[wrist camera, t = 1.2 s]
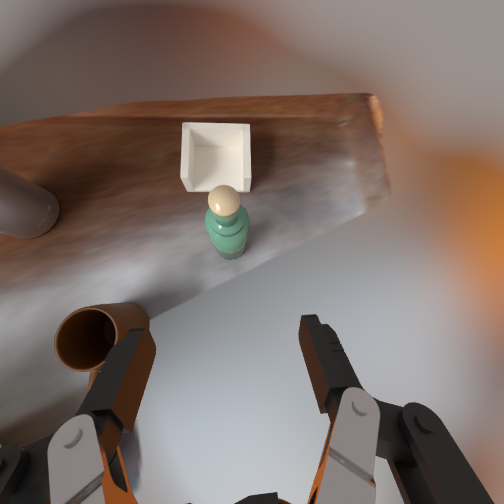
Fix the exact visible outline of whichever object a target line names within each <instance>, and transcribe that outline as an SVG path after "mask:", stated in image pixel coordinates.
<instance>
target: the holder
mask: <svg viewBox="0 0 504 504" xmlns="http://www.w3.org/2000/svg"><path fill="white" fill-rule="evenodd" d="M180 178H181V180H182V182H183V184H184V186H185V188H186V190H187V192H211V190H212V189H213V188H215V187H217V186H219V185H228V186H231V187H233V188H234V189H235V190H236V191H237V192H250V184H251V154H250V124H226V123H189V122H183V126H182V151H181V175H180Z"/></svg>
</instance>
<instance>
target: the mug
mask: <svg viewBox="0 0 504 504" xmlns="http://www.w3.org/2000/svg"><path fill="white" fill-rule="evenodd" d="M149 325H150V324H149V318H148V315H147V313H146V312H145V310H144V309H143V308H141V307H140V306H138V305H136V304H132V303H113V304H101V305H93V306H89V307H84V308H81V309H78V310H76V311H74V312H73V313H71V314H70V315H69V316H68V317H66V318H65V319H64V321H63V322H62V323H61V324H60V326H59V328H58V330H57V332H56V335H55V340H54V348H55V353H56V356H57V358H58V359H59V361H60V362H61V363H62V364H63V365H64V366H65V367H67V368H68V369H71V370H73V371H78V372H87V371H90V378H89V385H88V391H89V390H90V388H91V386H92V384H93V382H94V380H95V378H96V376H97V374H98V373H99V370H100V368H101V366H102V364H104V360H105V358H106V357H107V355H108V353H109V351H110V350H111V348H112V347H113V346H114V345H115V344H116V343H117V342H118V341H119V340H124V339H125V337H126V335H127V333H128V331H129V330H130V329H131V328H141V327H148V329H149Z"/></svg>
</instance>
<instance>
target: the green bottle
mask: <svg viewBox="0 0 504 504" xmlns="http://www.w3.org/2000/svg"><path fill="white" fill-rule="evenodd" d="M208 203H209V206H210V208H209V210H208V211H207V213H206V216H205V226H206V229H207V231H208V233H209V235H210V237H211V239H212V241H213V243H214V245H215V247H216V250H217V252H218V253H219V255H220V256H222V257H223V258H225V259H229V260H232V259H236V258H238V257H240V256H241V255H242V254H243V252H244V250H245V246H246V240H247V233H248V227H249V216H248V213H247V211H246V209H245V208H244V207H243V206H242V205H241V204H240V196H239V194H238V192H237V191H236V190H235V189H234V188H233V187H231V186H228V185H219V186H217V187H215V188H213V189H212V190H211V192H210V193H209V196H208Z"/></svg>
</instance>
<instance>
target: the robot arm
mask: <svg viewBox="0 0 504 504" xmlns="http://www.w3.org/2000/svg"><path fill="white" fill-rule="evenodd" d="M58 216H59V204H58V201H57V199H56V197H55V196H54V195H53V194H52V193H50V192H49V191H47V190H45V189H43V188H42V187H40V186H38V185H36V184H34V183H32V182H31V181H29V180H27V179H25V178H23V177H22V176H20V175H18V174H16V173H14V172H12V171H10V170H9V169H7V168H5V167H3V166H1V165H0V233H1V234H5V235H9V236H13V237H16V238H22V239H31V238H35V237H38V236H40V235H43V234H44V233H46V232H47V231H49V230H50V229H51V228H52V227H53V225H54V224H55V222H56V221H57V218H58ZM299 342H300V346H301V350H302V353H303V357H304V360H305V363H306V367H307V370H308V373H309V376H310V379H311V383H312V386H313V390H314V393H315V396H316V400H317V403H318V407H319V410H320V413H321V414H323V413H328V416H329V419H330V422H331V423H330V426H329V430H328V433H327V437H326V441H325V445H324V448H323V452H322V456H321V459H320V463H319V466H318V470H317V473H316V476H315V479H314V482H313V486H312V489H311V492H310V496H309V500H308V503H307V504H375V499H376V485H375V481H374V479H373V472H374V463H375V456H378V457H381V458H384V459H387V461H388V464H389V466H390V469H391V471H392V474H393V476H394V479H395V481H396V484H397V486H398V488H399V491H400V493H401V496H402V498H403V501H404V503H405V504H494V502H493V501H492V499H491V498H490V496H489V495H488V493H487V491H486V490H485V488H484V487H483V485H482V483H481V482H480V480H479V479H478V477H477V476H476V474H475V472H474V471H473V469H472V468H471V467H470V465H469V463H468V462H467V460H466V458H465V457H464V455H463V454H462V452H461V450H460V449H459V447H458V446H457V444H456V443H455V441H454V439H453V438H452V436H451V435H450V433H449V432H448V430H447V429H446V427H445V425H444V424H443V422H442V421H441V419H440V418H439V417H438V416H437V415H436V414H435V413H434V412H433V411H432V410H430V409H429V408H428V407H426V406H424V405H422V404H419V403H408V404H406V405H405V406H404V407H401V406H397V405H393V404H389V403H385V402H382V401H379V400H377V399H375V398H373V397H372V396H371V395H370V394H368V393H367V392H366V391H365V390H364V389H363V387H362V386H361V384H360V382H359V380H358V378H357V376H356V374H355V372H354V370H353V368H352V366H351V364H350V362H349V360H348V357H347V356H346V353H345V352H344V349H343V347H342V345H341V344H340V341H339V339H338V337H337V334H336V332H335V331H334V330H333V329H332V328H331V327H330V326H329V325H328V324H321V323H320V321H319V318H318V316H317V315H316V314H313V315H302V316H301V321H300V327H299ZM155 355H156V345H155V343H154V340H153V338H152V336H151V333H150V331H149V329H148V327H141V328H131V329H130V330H129V331H128V333H127V335H126V337H125V339H124V340H119V341H118V342H117V343H116V344H115V345H114V346H113V347H112V348H111V350H110V351H109V353H108V355H107V357H106V358H105V360H104V364H102V366H101V368H100V370H99V373H98V374H97V376H96V378H95V380H94V382H93V384H92V386H91V388H90V390H89V391H88V393H87V395H86V397H85V399H84V401H83V403H82V405H81V407H80V409H79V411H78V412H77V414H76V415H75V417H73V418H72V419H70V420H68V421H67V422H66V423H65V424H63V425H62V426H61V427H60V428H59V429H58V431H57V432H56V433H55V434H53V435H51V436H49V437H47V438H44V439H42V440H40V441H37V442H35V443H33V444H31V445H28V446H26V447H24V448H22V447H20V446H18V445H17V444H8V445H5V446H2V447H0V504H138V502H137V500H136V499H135V497H134V495H133V493H132V490H131V487H130V483H129V480H128V476H127V473H126V469H125V466H124V462H123V459H122V455H121V452H120V448H119V445H118V443H119V440H120V437H121V434H126V433H131V432H132V429H133V426H134V422H135V419H136V416H137V413H138V409H139V406H140V403H141V400H142V397H143V394H144V390H145V387H146V384H147V381H148V378H149V375H150V371H151V368H152V365H153V362H154V359H155ZM188 504H191V503H188ZM235 504H291V503H289V502H287V501H284V500H282V499H279V498H278V495H277V492H274V493H267V494H258V495H251V496H248V497H246V498H244V499H242V500H241V501H239V502H237V503H235Z"/></svg>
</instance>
